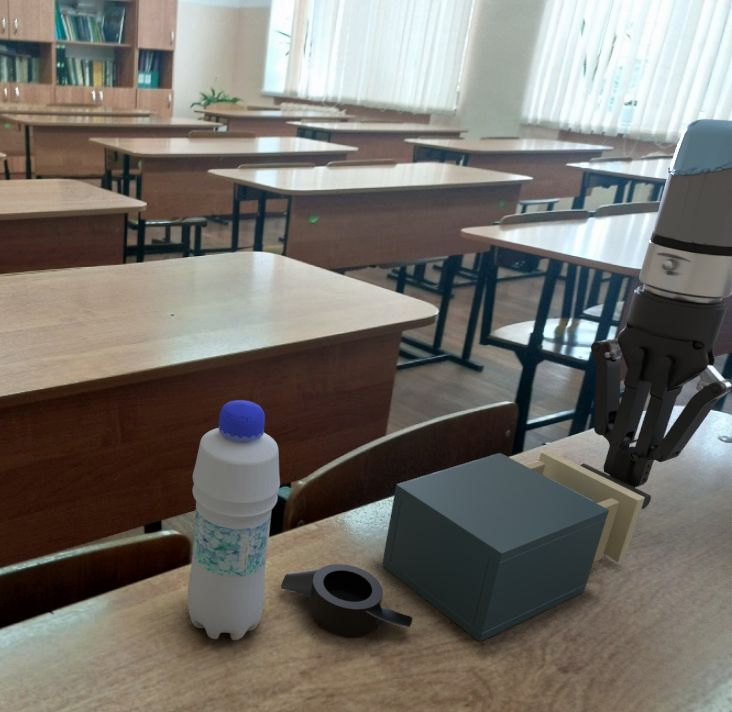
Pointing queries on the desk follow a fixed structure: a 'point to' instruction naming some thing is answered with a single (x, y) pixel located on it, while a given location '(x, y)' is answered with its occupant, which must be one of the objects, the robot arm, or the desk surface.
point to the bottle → (232, 521)
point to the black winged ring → (343, 599)
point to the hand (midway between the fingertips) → (614, 505)
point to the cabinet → (492, 542)
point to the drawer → (599, 499)
